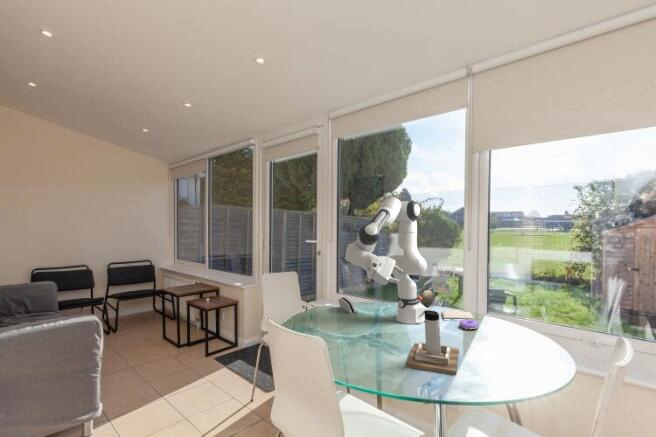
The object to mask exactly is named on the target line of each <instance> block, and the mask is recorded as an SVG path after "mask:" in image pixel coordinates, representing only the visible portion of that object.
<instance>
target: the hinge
mask: <svg viewBox="0 0 656 437" xmlns="http://www.w3.org/2000/svg"><path fill="white" fill-rule="evenodd" d="M337 301H338V304H339V306H340V308H341V309H342V310H344V311H346V312H347V313H349V314H350V315H354V313H359V312H358V310H357V309H356V308H355V306H354V304H353V302H352V300H350V299H349V298H348V297H345V296H343V297H340V298H339V299H338V300H337Z"/></svg>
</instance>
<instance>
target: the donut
mask: <svg viewBox="0 0 656 437" xmlns="http://www.w3.org/2000/svg"><path fill="white" fill-rule="evenodd" d="M474 320H475V319H474ZM474 320H468V319H466V320H462V321H459V327H460V326H461V327H463V328H467V329H470V328H475V327H477V326H478V327H479V324H478V322H477V321H476V320H475V321H474ZM461 327H460V328H461ZM463 328H462V329H463Z"/></svg>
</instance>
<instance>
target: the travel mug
mask: <svg viewBox="0 0 656 437" xmlns="http://www.w3.org/2000/svg"><path fill="white" fill-rule="evenodd" d="M424 313H425V322H424V331H425V333H424V334H425V336H424V337H425V343H426V355H433V356H440V357H441V345H442V344H441V325H440V323H441V322H440V313H439V312H438V311H436V310H429V309H427V310H426V311H424Z"/></svg>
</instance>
